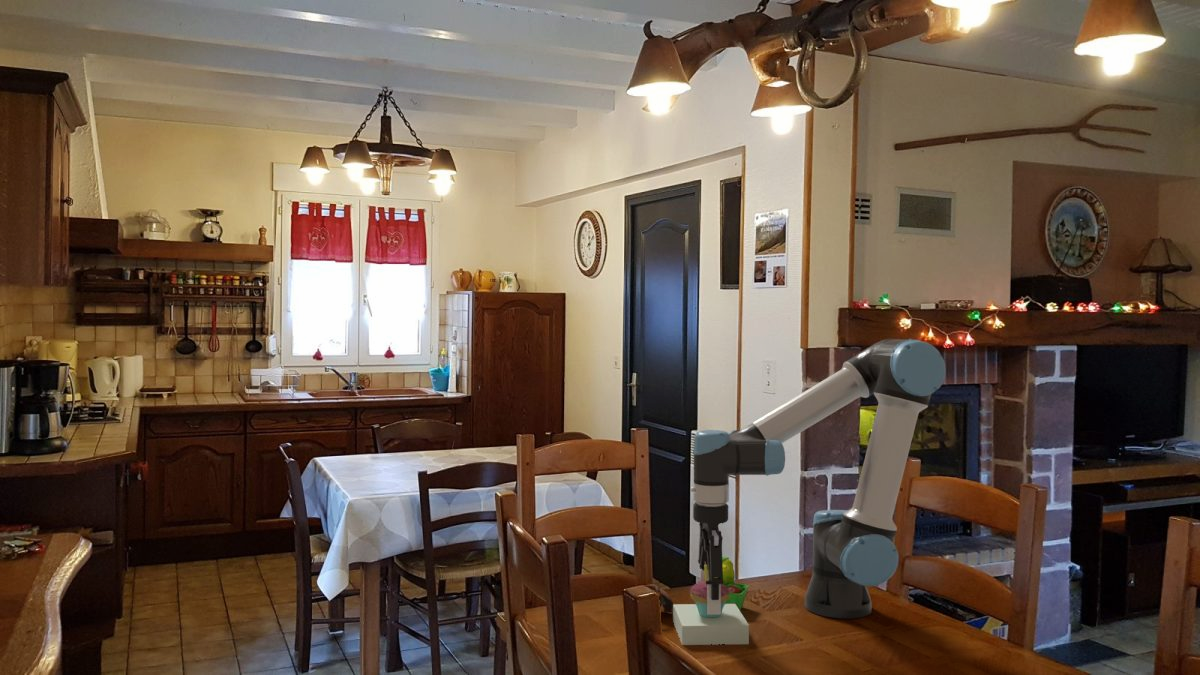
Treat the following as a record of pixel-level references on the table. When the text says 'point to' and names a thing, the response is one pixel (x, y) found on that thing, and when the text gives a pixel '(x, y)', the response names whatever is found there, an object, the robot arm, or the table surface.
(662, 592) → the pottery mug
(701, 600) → the cupcake
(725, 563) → the fruit basket
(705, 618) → the sage stand
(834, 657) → the table surface
